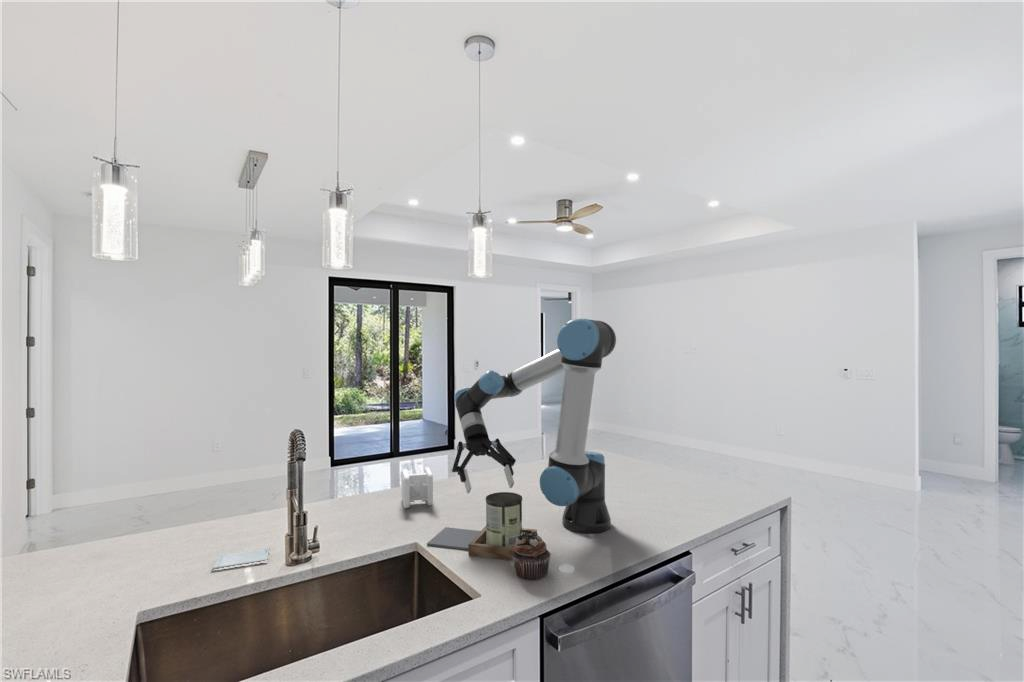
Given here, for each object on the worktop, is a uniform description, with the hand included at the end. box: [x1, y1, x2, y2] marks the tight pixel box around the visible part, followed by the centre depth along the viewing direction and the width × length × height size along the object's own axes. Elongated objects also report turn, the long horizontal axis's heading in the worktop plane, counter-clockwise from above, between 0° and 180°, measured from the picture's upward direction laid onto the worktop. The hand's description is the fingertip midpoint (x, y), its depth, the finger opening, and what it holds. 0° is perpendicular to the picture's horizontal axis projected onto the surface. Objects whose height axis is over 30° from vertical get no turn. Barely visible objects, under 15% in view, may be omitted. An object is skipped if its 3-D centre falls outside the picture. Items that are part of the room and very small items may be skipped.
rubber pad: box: [426, 526, 481, 551], centre depth 142 cm, size 13×13×1 cm
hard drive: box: [211, 548, 271, 571], centre depth 127 cm, size 2×8×12 cm
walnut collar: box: [467, 525, 538, 562], centre depth 136 cm, size 15×15×3 cm
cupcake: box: [512, 530, 551, 581], centre depth 120 cm, size 10×10×10 cm
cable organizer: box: [400, 466, 434, 509], centre depth 175 cm, size 15×11×12 cm
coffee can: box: [485, 491, 523, 548], centre depth 136 cm, size 10×10×14 cm
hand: (491, 488), depth 143 cm, fingers open, 13 cm apart
